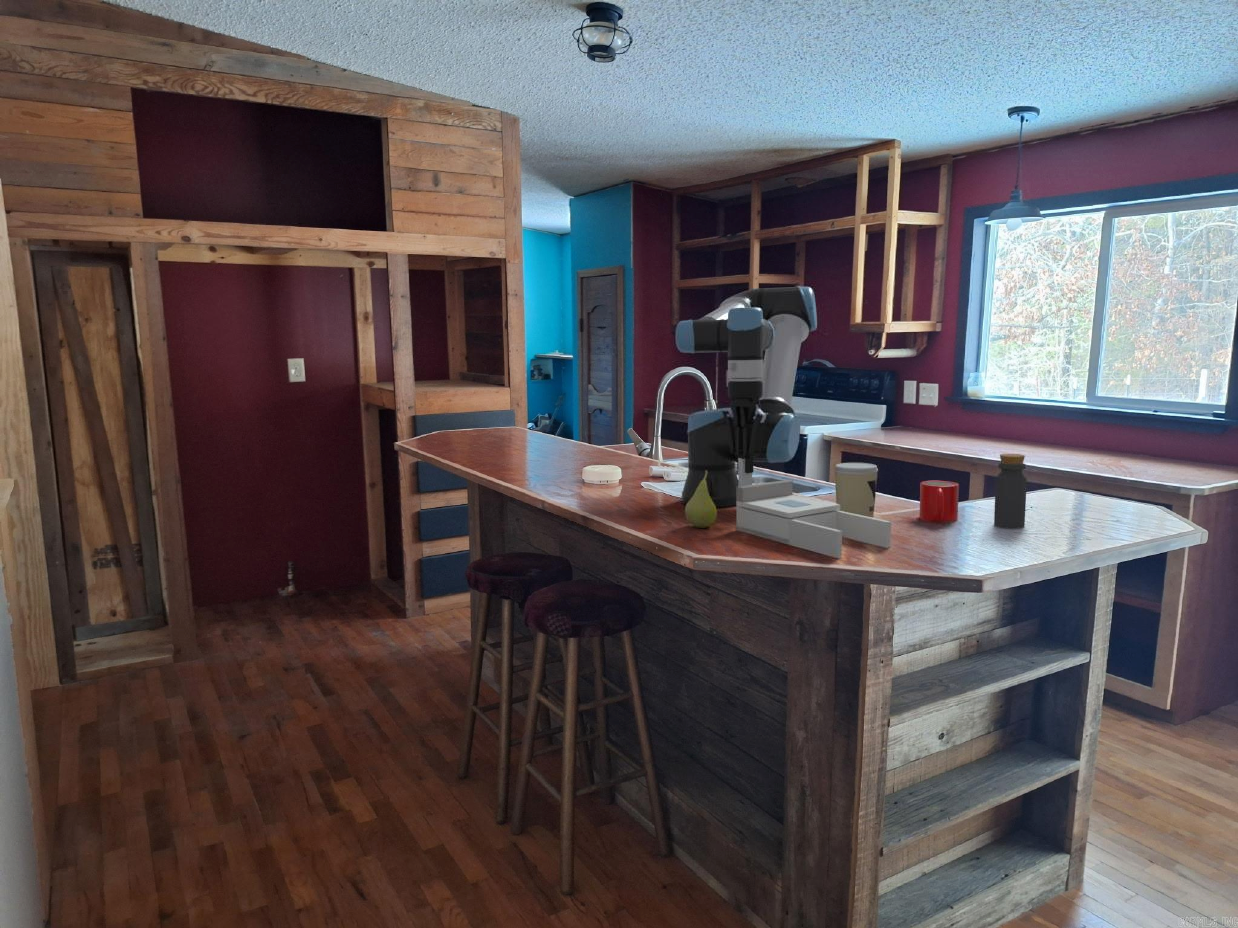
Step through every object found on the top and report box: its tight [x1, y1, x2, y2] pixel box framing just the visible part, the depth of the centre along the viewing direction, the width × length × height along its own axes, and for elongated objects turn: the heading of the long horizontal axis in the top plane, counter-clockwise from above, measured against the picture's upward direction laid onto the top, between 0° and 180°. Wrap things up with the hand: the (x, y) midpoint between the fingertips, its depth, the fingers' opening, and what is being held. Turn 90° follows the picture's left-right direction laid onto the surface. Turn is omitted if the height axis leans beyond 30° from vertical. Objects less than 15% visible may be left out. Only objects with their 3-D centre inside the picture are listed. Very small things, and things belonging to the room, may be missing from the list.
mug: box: [919, 480, 960, 523], centre depth 182 cm, size 8×12×8 cm, turn 164°
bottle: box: [993, 453, 1028, 529], centre depth 175 cm, size 6×6×15 cm
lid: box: [735, 479, 840, 518], centre depth 173 cm, size 16×14×4 cm
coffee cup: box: [833, 462, 879, 518], centre depth 185 cm, size 9×9×12 cm
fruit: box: [684, 470, 718, 529], centre depth 181 cm, size 7×8×12 cm
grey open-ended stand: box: [736, 506, 892, 559], centre depth 169 cm, size 29×14×5 cm, turn 31°
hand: (745, 487), depth 185 cm, fingers closed
